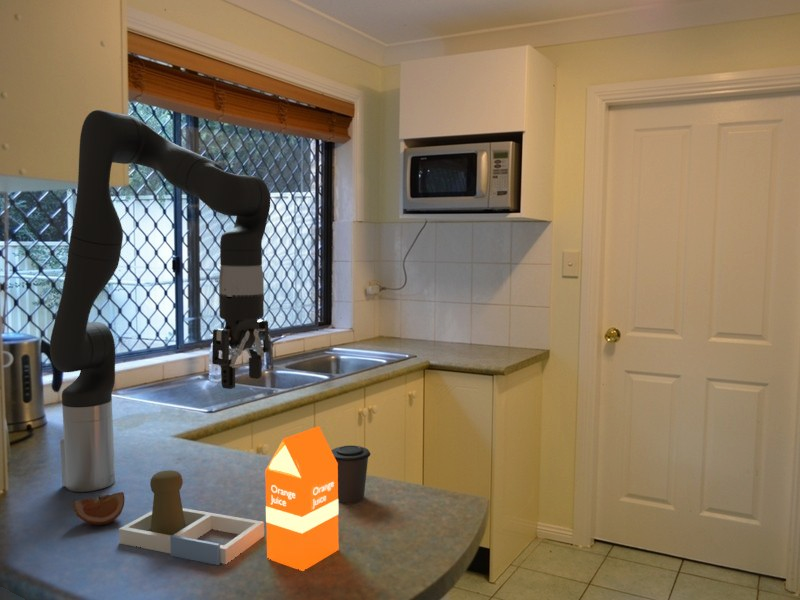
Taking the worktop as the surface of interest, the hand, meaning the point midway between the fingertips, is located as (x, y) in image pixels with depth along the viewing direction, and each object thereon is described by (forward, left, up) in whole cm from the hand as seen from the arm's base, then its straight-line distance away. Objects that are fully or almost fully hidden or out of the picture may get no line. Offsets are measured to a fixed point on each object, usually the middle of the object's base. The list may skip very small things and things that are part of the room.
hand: (242, 383), depth 122 cm
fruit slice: (-24, -10, -25) cm, 36 cm away
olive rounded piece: (-9, -10, -25) cm, 29 cm away
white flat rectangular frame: (-4, -10, -25) cm, 27 cm away
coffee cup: (+13, +16, -25) cm, 33 cm away
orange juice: (+16, -8, -25) cm, 31 cm away
